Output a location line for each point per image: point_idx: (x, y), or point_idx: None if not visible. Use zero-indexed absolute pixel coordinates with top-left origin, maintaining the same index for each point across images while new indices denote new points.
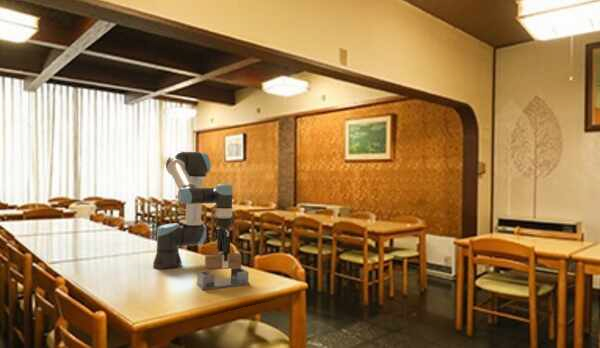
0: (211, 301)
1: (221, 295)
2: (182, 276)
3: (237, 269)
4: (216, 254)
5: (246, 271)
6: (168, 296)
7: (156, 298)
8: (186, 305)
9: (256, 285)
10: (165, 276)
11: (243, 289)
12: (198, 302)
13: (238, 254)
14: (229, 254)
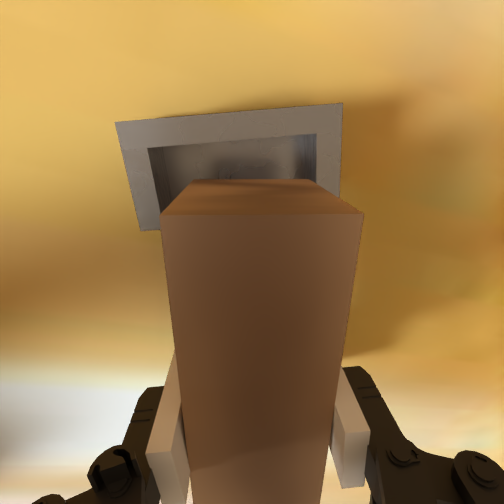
0: (483, 351)
1: (429, 304)
2: (14, 419)
3: (156, 171)
4: (199, 492)
5: (319, 120)
6: (332, 464)
7: (337, 490)
8: (469, 424)
9: (344, 50)
10: (10, 473)
11: (390, 173)
12: (462, 391)
13: (297, 251)
14: (248, 373)
